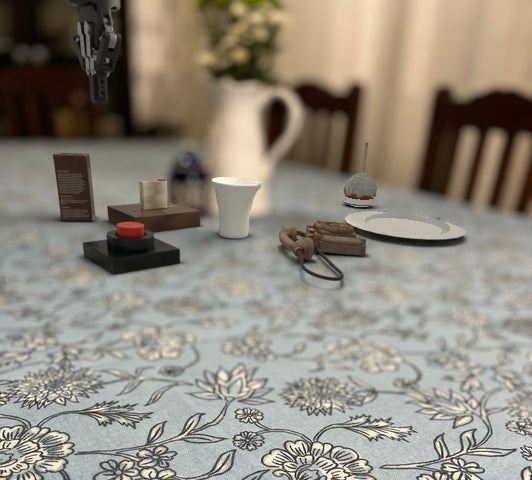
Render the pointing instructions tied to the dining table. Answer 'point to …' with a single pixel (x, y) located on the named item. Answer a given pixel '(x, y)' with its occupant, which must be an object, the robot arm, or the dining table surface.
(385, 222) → the plate
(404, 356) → the dining table surface
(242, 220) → the cup
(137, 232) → the button
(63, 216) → the box
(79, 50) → the robot arm
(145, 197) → the cream slab
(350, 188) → the grey candy apple
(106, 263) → the housing
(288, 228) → the telephone
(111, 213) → the panel
